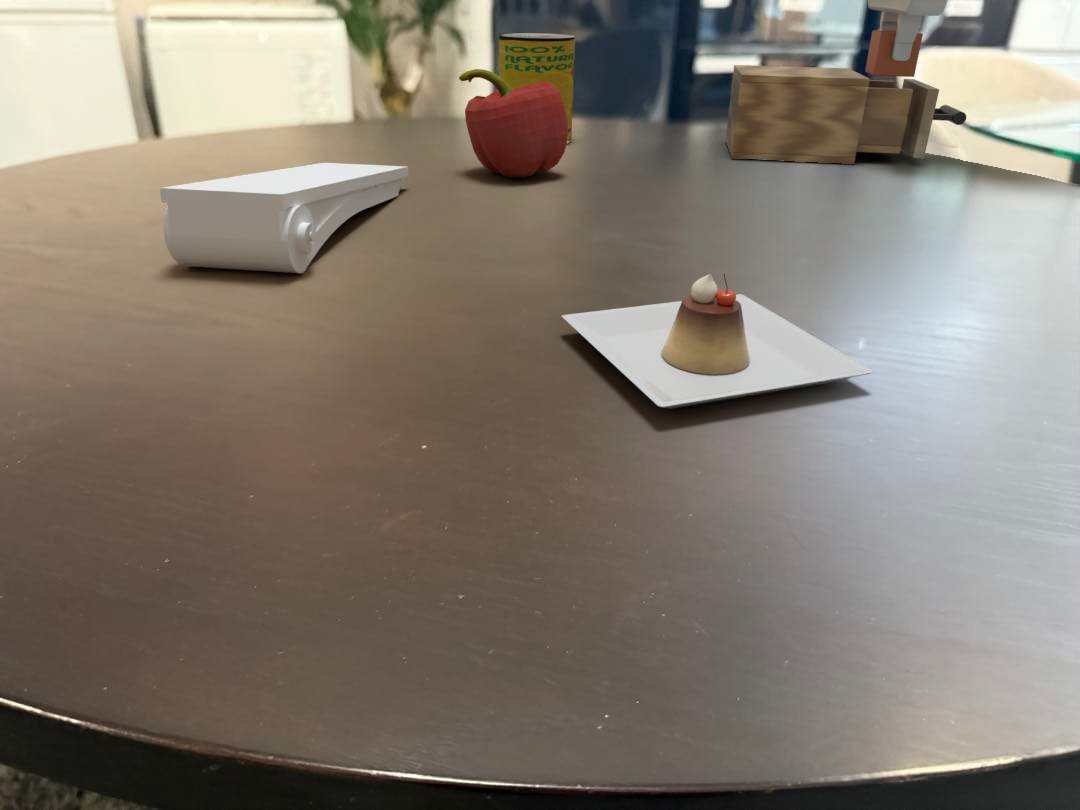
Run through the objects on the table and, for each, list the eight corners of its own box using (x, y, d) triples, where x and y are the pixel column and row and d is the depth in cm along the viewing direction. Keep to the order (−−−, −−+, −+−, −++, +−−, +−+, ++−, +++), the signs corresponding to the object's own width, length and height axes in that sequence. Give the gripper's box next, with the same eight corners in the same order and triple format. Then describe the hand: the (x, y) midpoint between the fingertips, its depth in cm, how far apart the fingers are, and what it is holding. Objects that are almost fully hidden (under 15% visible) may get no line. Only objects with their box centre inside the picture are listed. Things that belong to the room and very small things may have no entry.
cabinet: (835, 146, 104) (849, 68, 100) (854, 164, 94) (870, 78, 90) (725, 141, 106) (734, 64, 102) (731, 159, 96) (741, 74, 91)
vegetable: (449, 181, 82) (446, 73, 78) (473, 161, 92) (471, 63, 87) (558, 187, 81) (561, 77, 76) (572, 166, 90) (575, 67, 86)
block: (904, 73, 96) (912, 31, 94) (914, 76, 92) (923, 33, 90) (864, 71, 97) (872, 30, 95) (873, 75, 93) (881, 32, 91)
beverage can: (579, 146, 101) (584, 38, 96) (506, 147, 99) (507, 37, 94) (561, 133, 109) (564, 33, 103) (493, 135, 107) (492, 32, 102)
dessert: (870, 391, 42) (891, 301, 40) (657, 428, 38) (667, 330, 36) (739, 310, 52) (749, 234, 50) (560, 333, 48) (562, 252, 46)
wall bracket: (330, 241, 82) (175, 302, 56) (308, 166, 80) (137, 193, 54) (425, 221, 80) (312, 274, 54) (406, 143, 78) (278, 159, 52)
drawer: (936, 144, 102) (951, 80, 99) (963, 160, 93) (980, 90, 89) (796, 138, 104) (806, 75, 101) (809, 153, 95) (820, 85, 91)
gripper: (984, -92, 78) (949, 67, 84) (925, -79, 96) (899, 51, 102) (914, -92, 79) (884, 65, 85) (868, -79, 97) (846, 50, 103)
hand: (892, 58), depth 94 cm, fingers closed on block, 4 cm apart
